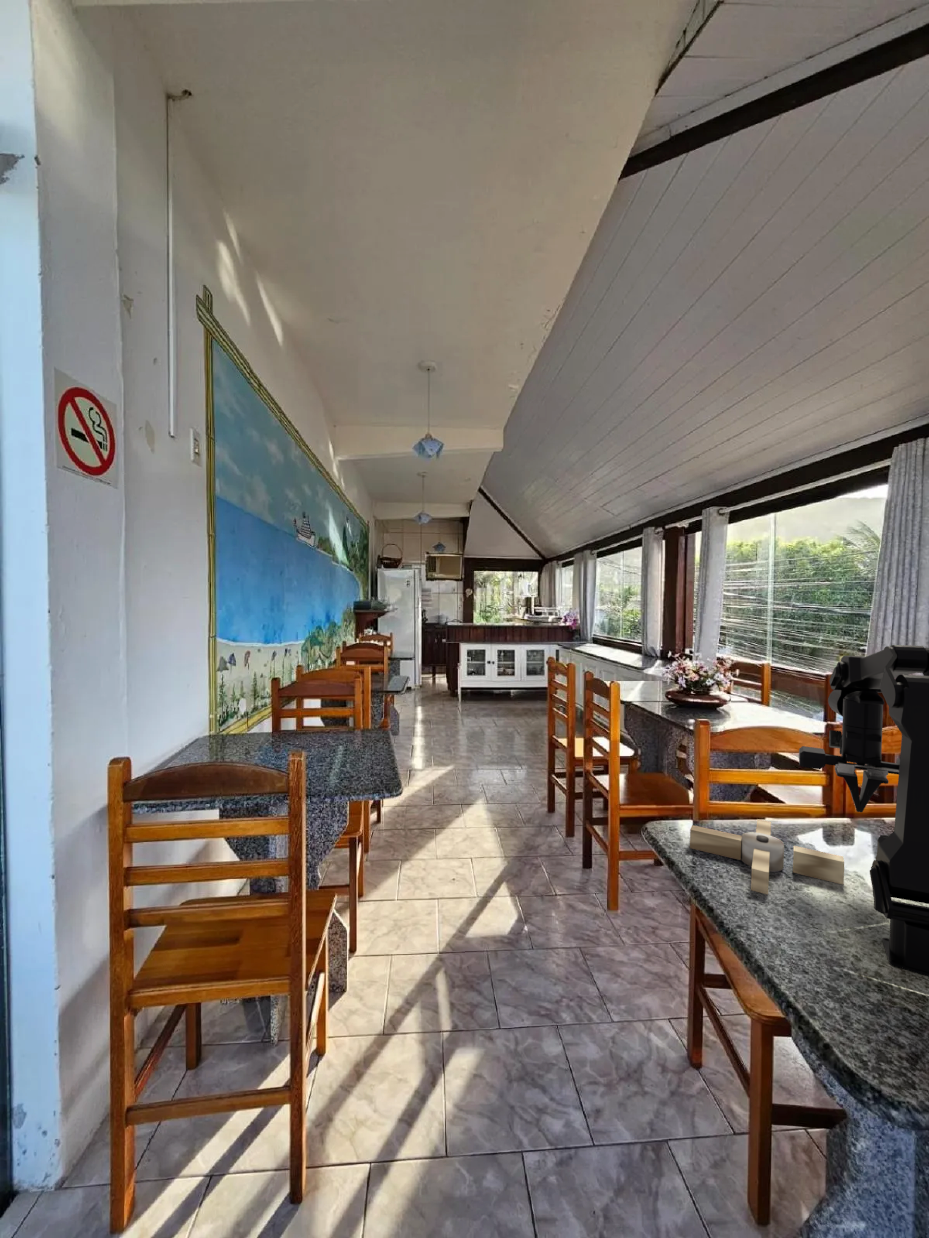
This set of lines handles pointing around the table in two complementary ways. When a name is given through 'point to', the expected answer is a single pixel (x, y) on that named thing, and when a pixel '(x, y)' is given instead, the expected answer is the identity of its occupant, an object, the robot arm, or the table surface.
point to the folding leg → (818, 864)
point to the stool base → (744, 850)
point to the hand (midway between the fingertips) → (859, 811)
